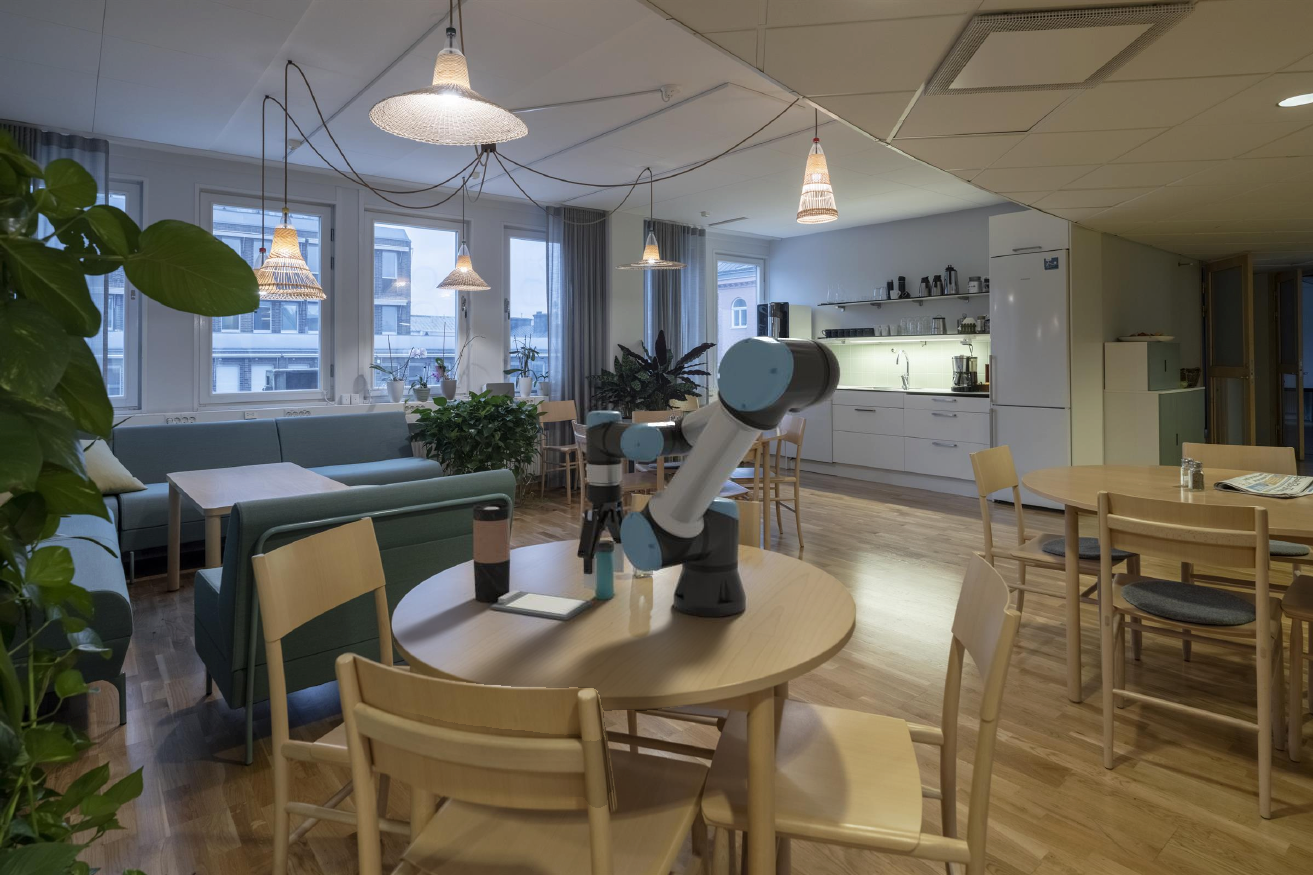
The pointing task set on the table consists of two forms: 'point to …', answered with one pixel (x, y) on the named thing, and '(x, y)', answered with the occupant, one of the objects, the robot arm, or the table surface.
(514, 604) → the clipboard
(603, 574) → the marker
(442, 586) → the table surface
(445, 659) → the table surface
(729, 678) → the table surface
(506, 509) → the travel mug
